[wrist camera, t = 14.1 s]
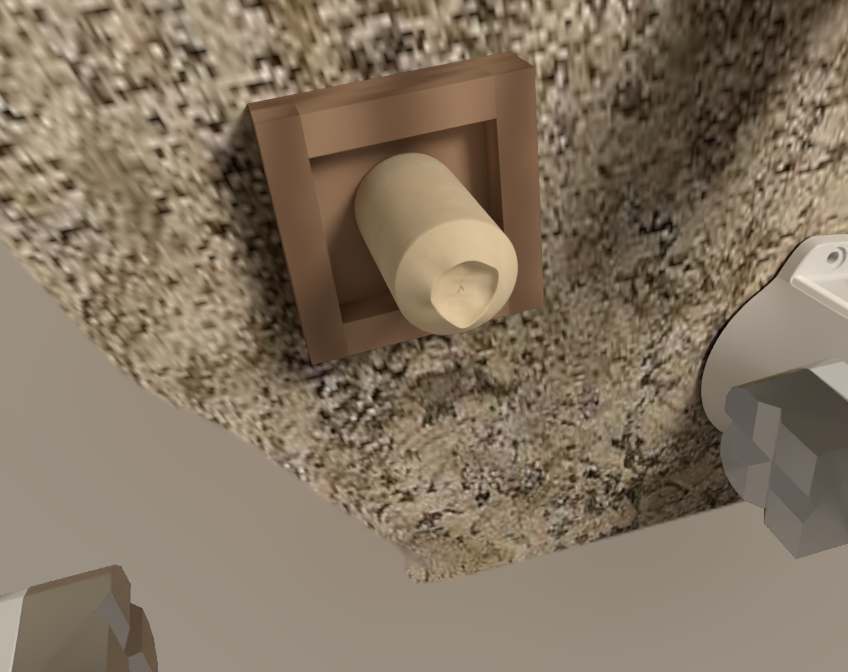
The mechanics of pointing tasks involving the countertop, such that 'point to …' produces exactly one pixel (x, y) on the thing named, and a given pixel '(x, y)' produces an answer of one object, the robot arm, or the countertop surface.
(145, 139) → the countertop surface
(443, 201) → the candle
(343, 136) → the brown shallow square tray
